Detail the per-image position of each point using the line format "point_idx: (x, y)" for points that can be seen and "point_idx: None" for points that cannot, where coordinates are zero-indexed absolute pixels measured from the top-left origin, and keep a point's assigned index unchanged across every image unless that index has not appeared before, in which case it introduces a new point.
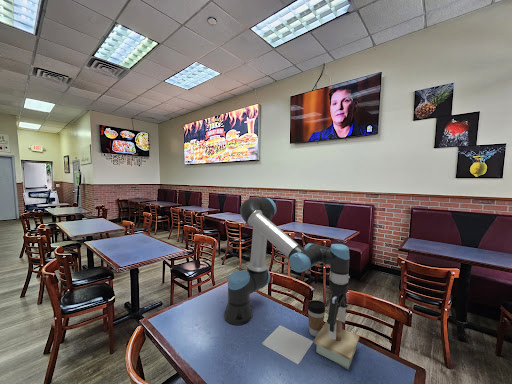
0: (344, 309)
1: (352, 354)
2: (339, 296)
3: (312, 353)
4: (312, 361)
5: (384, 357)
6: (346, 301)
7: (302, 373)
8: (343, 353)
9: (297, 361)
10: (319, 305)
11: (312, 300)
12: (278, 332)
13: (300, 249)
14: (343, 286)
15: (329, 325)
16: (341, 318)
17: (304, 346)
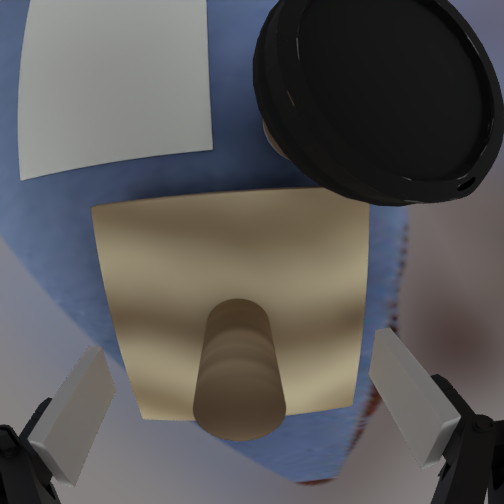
0: (418, 459)
1: (174, 418)
2: None
3: (128, 188)
4: (84, 216)
5: (343, 427)
6: (501, 477)
7: (12, 217)
8: (138, 389)
9: (29, 168)
10: (428, 114)
11: (448, 3)
12: None
13: None
14: None
15: (46, 416)
16: (382, 369)
17: (131, 130)
